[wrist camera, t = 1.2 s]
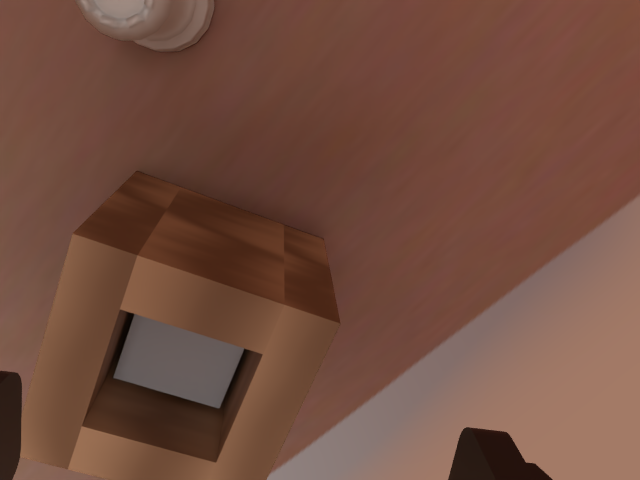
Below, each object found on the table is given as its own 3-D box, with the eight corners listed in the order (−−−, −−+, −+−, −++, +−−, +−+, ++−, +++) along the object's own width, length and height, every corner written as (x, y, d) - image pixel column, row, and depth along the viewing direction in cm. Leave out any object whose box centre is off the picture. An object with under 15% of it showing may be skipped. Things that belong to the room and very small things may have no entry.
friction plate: (116, 369, 25) (113, 377, 25) (147, 277, 24) (144, 283, 23) (220, 400, 26) (219, 408, 25) (256, 313, 25) (256, 319, 24)
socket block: (85, 337, 30) (10, 454, 22) (136, 170, 27) (72, 233, 19) (257, 389, 32) (249, 515, 24) (323, 239, 29) (340, 323, 21)
